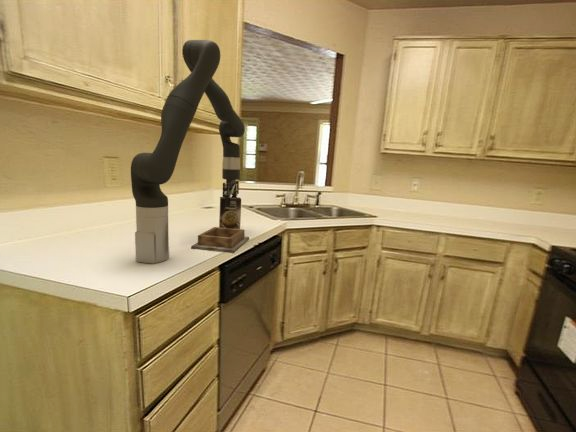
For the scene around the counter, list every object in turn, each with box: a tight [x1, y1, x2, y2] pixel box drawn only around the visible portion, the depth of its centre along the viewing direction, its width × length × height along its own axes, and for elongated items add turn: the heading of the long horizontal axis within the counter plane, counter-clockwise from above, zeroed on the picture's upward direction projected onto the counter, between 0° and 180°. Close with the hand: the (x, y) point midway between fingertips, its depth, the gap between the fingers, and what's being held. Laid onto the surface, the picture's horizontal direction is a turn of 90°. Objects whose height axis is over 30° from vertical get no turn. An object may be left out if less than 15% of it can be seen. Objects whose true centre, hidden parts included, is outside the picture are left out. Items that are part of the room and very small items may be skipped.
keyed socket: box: [190, 226, 250, 254], centre depth 119 cm, size 16×20×4 cm
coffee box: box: [218, 196, 242, 229], centre depth 135 cm, size 9×6×16 cm
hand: (230, 205), depth 135 cm, fingers open, 8 cm apart
